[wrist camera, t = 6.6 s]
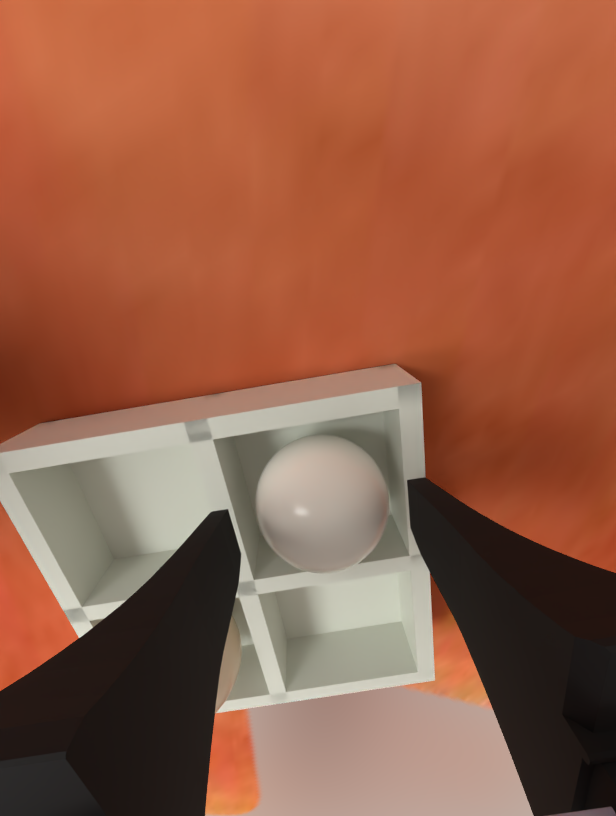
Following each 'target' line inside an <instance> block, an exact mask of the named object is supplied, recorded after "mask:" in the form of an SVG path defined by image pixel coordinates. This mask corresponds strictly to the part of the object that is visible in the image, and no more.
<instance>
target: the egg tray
mask: <svg viewBox="0 0 616 816" xmlns="http://www.w3.org/2000/svg"><path fill="white" fill-rule="evenodd" d="M316 434H327V435H334V436H338V437H342V438H344V439H347V440H349V441H351V442H353V443H355V444H357V445H358V446H359V447H361V448H362V449H363V450H365V451H366V452H367V453H368V454H369V455H370V456H371V457H372V458H373V460H374V461H375V462H376V464H377V465H378V467H379V468H380V470H381V472H382V474H383V476H384V479H385V482H386V485H387V489H388V494H389V516H388V521H387V524H386V528H385V531H384V533H383V535H382V537H381V539H380V541H379V542H378V544H377V546H376V547H375V548H374V549H373V551H372V552H371V553H370V554H369V555H368V556H367V557H366V558H365V559H363V560H362V561H361V562H359V563H358V564H356V565H354V566H352V567H350V568H348V569H346V570H343V571H339V572H335V573H326V574H320V573H312V572H307V571H304V570H301V569H298V568H296V567H294V566H292V565H290V564H288V563H287V562H286V561H284V560H283V559H282V558H280V557H279V556H278V555H277V554H276V553H275V552H274V551H273V550H272V549H271V547H270V546H269V545H268V543H267V542H266V540H265V538H264V536H263V534H262V532H261V530H260V527H259V524H258V520H257V516H256V505H255V497H256V490H257V486H258V482H259V479H260V476H261V474H262V472H263V470H264V468H265V466H266V465H267V463H268V462H269V460H270V459H271V458H272V457H273V456H274V455H275V454H276V453H277V452H278V451H279V450H280V449H281V448H282V447H284V446H285V445H287V444H288V443H290V442H292V441H294V440H296V439H299V438H301V437H305V436H309V435H316ZM423 477H425V478H426V476H425V454H424V432H423V411H422V389H421V382H420V381H418V380H417V379H416V378H414V377H413V376H412V375H410V374H409V373H407V372H406V371H405V370H403V369H402V368H401V367H399V366H398V365H396V364H390V365H384V366H378V367H372V368H367V369H361V370H355V371H349V372H343V373H337V374H331V375H325V376H319V377H313V378H307V379H301V380H295V381H289V382H283V383H277V384H271V385H265V386H259V387H254V388H248V389H242V390H236V391H230V392H224V393H218V394H212V395H206V396H200V397H194V398H188V399H182V400H176V401H170V402H164V403H158V404H152V405H147V406H141V407H135V408H129V409H123V410H117V411H111V412H105V413H99V414H93V415H87V416H81V417H75V418H69V419H63V420H57V421H51V422H45V423H40V424H37V425H35V426H33V427H32V428H30V429H28V430H26V431H24V432H22V433H20V434H18V435H16V436H14V437H12V438H10V439H9V440H7V441H5V442H3V443H1V444H0V501H1V503H2V505H3V507H4V508H5V510H6V512H7V514H8V515H9V517H10V519H11V521H12V522H13V524H14V526H15V527H16V529H17V531H18V533H19V534H20V536H21V538H22V540H23V541H24V543H25V545H26V547H27V548H28V550H29V552H30V553H31V555H32V557H33V559H34V560H35V562H36V564H37V566H38V567H39V569H40V571H41V573H42V574H43V576H44V578H45V580H46V581H47V583H48V585H49V586H50V588H51V590H52V592H53V593H54V595H55V597H56V599H57V600H58V602H59V604H60V606H61V607H62V609H63V611H64V612H65V614H66V616H67V618H68V619H69V621H70V623H71V625H72V626H73V628H74V630H75V632H76V633H77V635H78V637H79V638H80V637H81V636H83V635H84V634H85V633H87V632H88V631H89V630H90V629H92V628H93V627H94V626H95V625H97V624H98V623H99V622H101V621H102V620H103V619H104V618H106V617H107V616H108V615H109V614H111V613H112V612H113V611H114V610H116V609H117V608H118V607H119V606H120V605H121V604H123V603H124V602H125V601H126V600H127V599H128V598H129V597H130V596H132V595H133V594H134V593H135V592H136V591H137V590H138V589H139V588H140V587H141V586H143V585H144V584H145V583H146V582H147V581H148V580H149V579H150V578H151V577H152V576H153V575H154V574H155V573H156V572H157V571H158V570H159V569H160V567H161V566H162V565H163V564H164V563H165V562H166V561H167V560H168V559H169V558H170V557H171V556H172V555H173V554H174V553H175V552H176V551H177V550H178V548H179V547H180V546H181V545H182V544H183V543H184V542H185V541H186V539H187V538H188V537H189V536H190V535H191V534H192V533H193V532H194V530H195V529H196V528H197V527H198V526H199V525H200V523H201V522H202V521H203V520H204V519H205V518H206V517H207V516H208V514H209V513H210V512H212V511H218V510H225V509H228V511H229V514H230V517H231V521H232V524H233V527H234V531H235V534H236V538H237V541H238V544H239V548H240V551H241V565H240V576H239V584H238V589H237V594H236V598H235V603H234V607H233V612H232V616H233V617H234V619H235V621H236V623H237V626H238V628H239V632H240V636H241V645H242V656H241V664H240V669H239V673H238V676H237V679H236V682H235V685H234V687H233V689H232V691H231V693H230V694H229V696H228V698H227V699H226V701H225V702H224V704H223V705H222V706H221V707H220V709H219V710H218V711H217V712H216V713H220V712H227V711H234V710H240V709H247V708H253V707H260V706H266V705H274V704H280V703H287V702H294V701H300V700H307V699H314V698H320V697H327V696H334V695H340V694H347V693H354V692H361V691H366V690H374V689H380V688H387V687H394V686H401V685H407V684H414V683H421V682H427V681H434V680H435V672H434V650H433V628H432V607H431V585H430V571H429V569H428V567H427V566H426V564H425V562H424V560H423V558H422V556H421V554H420V551H419V549H418V546H417V544H416V541H415V539H414V536H413V533H412V531H411V528H410V516H409V501H408V487H407V480H410V479H417V478H423Z"/></svg>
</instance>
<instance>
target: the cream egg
mask: <svg viewBox="0 0 616 816" xmlns="http://www.w3.org/2000/svg"><path fill="white" fill-rule="evenodd" d="M255 505H256V516H257V520H258V524H259V527H260V530H261V532H262V534H263V536H264V538H265V540H266V542H267V543H268V545H269V546H270V547H271V549H272V550H273V551H274V552H275V553H276V554H277V555H278V556H279V557H280V558H282V559H283V560H284V561H286V562H287V563H288V564H290V565H292V566H294V567H296V568H298V569H301V570H304V571H307V572H312V573H320V574H326V573H335V572H339V571H343V570H346V569H348V568H350V567H352V566H354V565H356V564H358V563H359V562H361V561H362V560H363V559H365V558H366V557H367V556H368V555H369V554H370V553H371V552H372V551H373V549H374V548H375V547H376V546H377V544H378V542H379V541H380V539H381V537H382V535H383V533H384V531H385V528H386V524H387V521H388V516H389V494H388V489H387V485H386V482H385V479H384V476H383V474H382V472H381V470H380V468H379V467H378V465H377V464H376V462H375V461H374V460H373V458H372V457H371V456H370V455H369V454H368V453H367V452H366V451H365V450H363V449H362V448H361V447H359V446H358V445H357V444H355V443H353V442H351V441H349V440H347V439H344V438H342V437H338V436H334V435H327V434H316V435H309V436H305V437H301V438H299V439H296V440H294V441H292V442H290V443H288V444H287V445H285V446H284V447H282V448H281V449H280V450H279V451H278V452H277V453H276V454H275V455H274V456H273V457H272V458H271V459H270V460H269V462H268V463H267V465H266V466H265V468H264V470H263V472H262V474H261V476H260V479H259V482H258V486H257V490H256V497H255Z"/></svg>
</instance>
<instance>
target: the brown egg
mask: <svg viewBox="0 0 616 816" xmlns="http://www.w3.org/2000/svg"><path fill="white" fill-rule="evenodd" d="M241 656H242V645H241V636H240V632H239V628H238V626H237V623H236V621H235V619H234V617H233V616H231V621H230V625H229V630H228V634H227V639H226V643H225V648H224V652H223V658H222V663H221V669H220V676H219V684H218V692H217V699H216V707H215V713H216V712H217V711H218V710H219V709H220V707H221V706H222V705H223V704H224V702H225V701H226V699H227V698H228V696H229V694H230V693H231V691H232V689H233V687H234V685H235V682H236V679H237V676H238V673H239V669H240V664H241Z"/></svg>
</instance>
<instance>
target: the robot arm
mask: <svg viewBox="0 0 616 816" xmlns="http://www.w3.org/2000/svg"><path fill="white" fill-rule="evenodd" d="M407 487H408V501H409V516H410V528H411V531H412V533H413V536H414V539H415V541H416V544H417V546H418V549H419V551H420V554H421V556H422V558H423V560H424V562H425V564H426V566H427V567H428V569H429V571H430V573H431V575H432V577H433V579H434V581H435V583H436V584H437V586H438V588H439V590H440V592H441V594H442V596H443V598H444V599H445V601H446V603H447V605H448V607H449V609H450V611H451V613H452V614H453V616H454V618H455V620H456V622H457V625H458V627H459V629H460V631H461V633H462V635H463V638H464V640H465V642H466V645H467V647H468V649H469V652H470V654H471V656H472V659H473V661H474V664H475V666H476V668H477V671H478V673H479V676H480V678H481V681H482V683H483V685H484V688H485V690H486V693H487V695H488V698H489V700H490V703H491V705H492V708H493V710H494V713H495V715H496V718H497V720H498V723H499V725H500V728H501V730H502V733H503V736H504V738H505V741H506V743H507V746H508V749H509V751H510V754H511V756H512V759H513V761H514V764H515V767H516V769H517V772H518V775H519V777H520V780H521V783H522V785H523V788H524V791H525V794H526V796H527V799H528V801H529V804H530V807H531V810H532V812H533V815H534V816H616V573H614V572H611V571H607V570H604V569H601V568H599V567H596V566H593V565H590V564H587V563H585V562H582V561H579V560H577V559H574V558H572V557H569V556H567V555H564V554H562V553H559V552H557V551H554V550H552V549H549V548H547V547H545V546H542V545H540V544H538V543H536V542H533V541H531V540H529V539H527V538H525V537H523V536H521V535H519V534H517V533H515V532H513V531H511V530H509V529H507V528H505V527H503V526H501V525H499V524H498V523H496V522H494V521H492V520H490V519H489V518H487V517H485V516H483V515H482V514H480V513H478V512H477V511H475V510H473V509H472V508H470V507H468V506H467V505H465V504H464V503H462V502H461V501H459V500H458V499H456V498H454V497H453V496H451V495H450V494H449V493H447V492H446V491H444V490H443V489H441V488H440V487H438V486H437V485H435V484H434V483H432V482H431V481H429V480H428V479H426V478H425V477H423V478H417V479H410V480H407ZM240 565H241V551H240V548H239V544H238V541H237V538H236V534H235V531H234V527H233V524H232V521H231V517H230V514H229V511H228V509H225V510H218V511H212V512H210V513H209V514H208V516H207V517H206V518H205V519H204V520H203V521H202V522H201V523H200V525H199V526H198V527H197V528H196V529H195V530H194V532H193V533H192V534H191V535H190V536H189V537H188V538H187V539H186V541H185V542H184V543H183V544H182V545H181V546H180V547H179V548H178V550H177V551H176V552H175V553H174V554H173V555H172V556H171V557H170V558H169V559H168V560H167V561H166V562H165V563H164V564H163V565H162V566H161V567H160V569H159V570H158V571H157V572H156V573H155V574H154V575H153V576H152V577H151V578H150V579H149V580H148V581H147V582H146V583H145V584H144V585H143V586H141V587H140V588H139V589H138V590H137V591H136V592H135V593H134V594H133V595H132V596H130V597H129V598H128V599H127V600H126V601H125V602H124V603H123V604H121V605H120V606H119V607H118V608H117V609H116V610H114V611H113V612H112V613H111V614H109V615H108V616H107V617H106V618H104V619H103V620H102V621H101V622H99V623H98V624H97V625H95V626H94V627H93V628H92V629H90V630H89V631H88V632H87V633H85V634H84V635H83V636H81V637H80V638H79V639H77V640H76V641H75V642H73V643H72V644H71V645H69V646H68V647H66V648H65V649H64V650H62V651H61V652H59V653H58V654H57V655H55V656H54V657H52V658H51V659H49V660H48V661H46V662H45V663H44V664H42V665H41V666H39V667H38V668H36V669H35V670H33V671H32V672H30V673H29V674H27V675H25V676H24V677H22V678H21V679H19V680H17V681H16V682H14V683H13V684H11V685H10V686H8V687H6V688H5V689H3V690H2V691H0V816H205V806H206V794H207V784H208V773H209V763H210V752H211V743H212V734H213V725H214V716H215V707H216V699H217V692H218V684H219V676H220V669H221V663H222V658H223V652H224V648H225V643H226V639H227V634H228V630H229V625H230V621H231V616H232V612H233V607H234V603H235V598H236V594H237V589H238V584H239V576H240Z"/></svg>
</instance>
